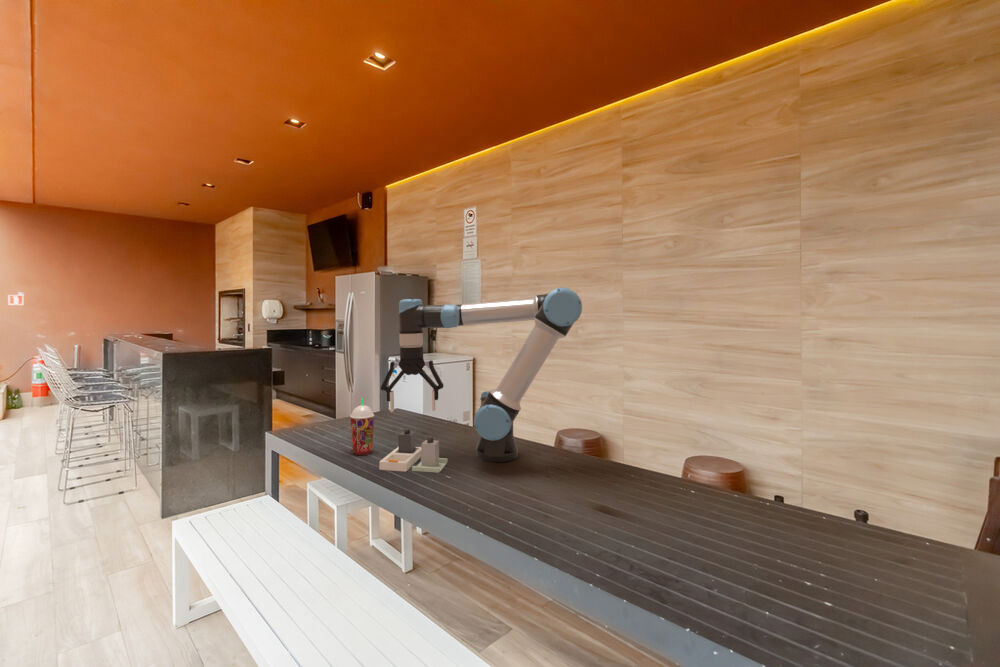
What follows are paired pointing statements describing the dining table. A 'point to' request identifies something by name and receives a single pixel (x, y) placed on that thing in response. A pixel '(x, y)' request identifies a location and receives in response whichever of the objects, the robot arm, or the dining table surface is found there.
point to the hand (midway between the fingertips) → (413, 410)
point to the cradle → (431, 469)
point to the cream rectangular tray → (402, 453)
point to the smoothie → (362, 429)
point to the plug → (430, 452)
